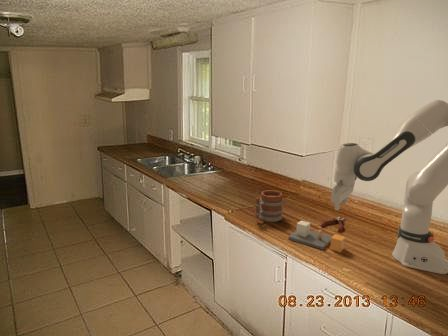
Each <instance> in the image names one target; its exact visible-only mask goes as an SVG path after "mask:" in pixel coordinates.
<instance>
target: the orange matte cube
mask: <svg viewBox="0 0 448 336" xmlns="http://www.w3.org/2000/svg"><path fill="white" fill-rule="evenodd" d="M332 236H333V237H331V242H330V245H329V250H331V251H333V252H338V253H339V254H340V253H342V251H344V249H345V245H346V243H345V242H346V236H343V235H341V234H340V235H339V234H336V233H335V234H333V235H332Z"/></svg>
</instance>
